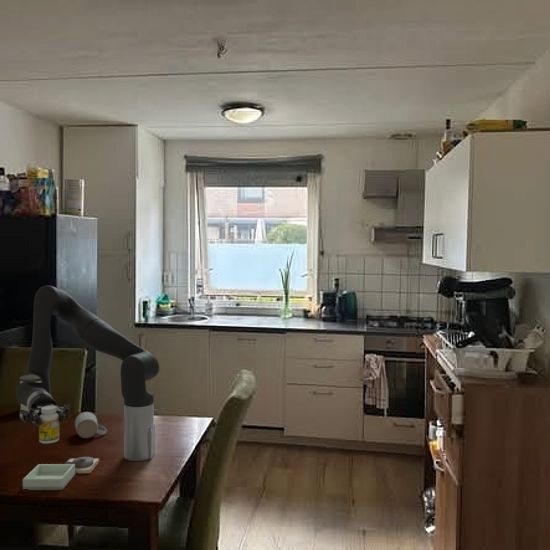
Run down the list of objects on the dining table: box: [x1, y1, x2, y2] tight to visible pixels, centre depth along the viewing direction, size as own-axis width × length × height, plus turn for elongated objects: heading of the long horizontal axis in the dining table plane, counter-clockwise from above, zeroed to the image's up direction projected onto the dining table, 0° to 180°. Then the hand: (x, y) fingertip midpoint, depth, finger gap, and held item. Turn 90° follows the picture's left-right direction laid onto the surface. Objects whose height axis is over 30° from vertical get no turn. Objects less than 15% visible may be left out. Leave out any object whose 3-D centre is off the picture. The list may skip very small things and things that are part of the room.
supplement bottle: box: [38, 406, 60, 444], centre depth 154 cm, size 5×5×10 cm
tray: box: [22, 463, 76, 491], centre depth 155 cm, size 11×11×3 cm
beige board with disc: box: [64, 456, 100, 474], centre depth 166 cm, size 9×9×3 cm
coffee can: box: [19, 373, 41, 412], centre depth 225 cm, size 10×10×14 cm
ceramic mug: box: [74, 411, 107, 439], centre depth 195 cm, size 11×8×8 cm
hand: (50, 420), depth 152 cm, fingers closed on supplement bottle, 5 cm apart
